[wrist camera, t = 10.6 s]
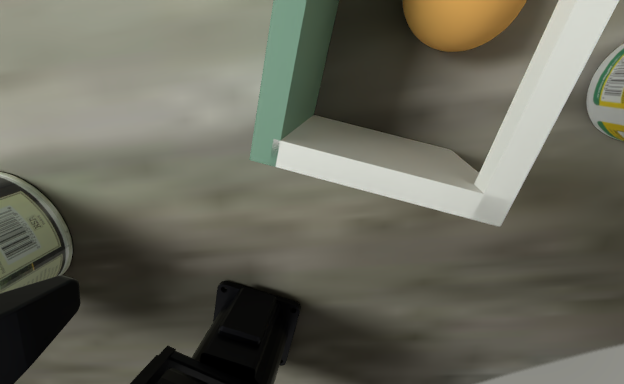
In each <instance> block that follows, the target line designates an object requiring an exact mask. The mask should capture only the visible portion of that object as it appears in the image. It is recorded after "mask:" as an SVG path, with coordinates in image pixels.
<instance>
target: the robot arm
mask: <svg viewBox="0 0 624 384" xmlns="http://www.w3.org/2000/svg"><path fill="white" fill-rule="evenodd" d="M224 287H225V288H226V289H225V288H224ZM79 307H80V292H79V283H78V281H77V280H76V279H74V278H71V277H67V276H64V275H59V276H55V277H52V278H49V279H46V280H42V281H39V282H36V283H32V284H29V285H26V286H23V287H19V288H16V289H13V290H10V291H6V292H3V293H0V384H14V383H15V382H16V381H17V380H18V379H19V378H20V377H21V376H22V374H23V373H24V372H25V371H26V370H27V369H28V368H29V367H30V366H31V365H32V364H33V363H34V362H35V360H36V359H37V358H38V357H39V356H40V355H41V353H42V352H43V351H44V350H45V349H46V348H47V346H48V345H49V344H50V343H51V342H52V341H53V339H54V338H55V337H56V336H57V335H58V334H59V332H60V331H61V330H62V329H63V328H64V327H65V325H66V324H67V323H68V322H69V321H70V320H71V318H72V317H73V316H74V315H75V314H76V312H77V311H78V309H79ZM292 308H295V309H292ZM300 309H301V306H300V304H299V303H298V302H295V301H292V300H289V299H285V298H282V297H278V296H275V295H272V294H268V293H265V292H261V291H258V290H255V289H251V288H248V287H244V286H241V285H238V284H234V283H231V282H227V281H222V282H221V283H220V285H219V286H218V290H217V297H216V305H215V312H214V320H213V324H212V325H211V327H210V329H209V330H208V332H207V334H206V335H205V337H204V338H203V340H202V342H201V343H200V345H199V347H198V348H197V350H196V352H195V353H194V355H193V356H192V358H191V357H188V356H186V355H184V354H182V353H179V352H177V351H175V350H176V349H174V348H172V347H170V346H167V347H166V348H165V349H164V350H163V351H162V352H161V353H160V354H159V355H156V356H155V357H154V358H153V360H152V361H151V362H150V363H149V364H148V365H147V366H146V367H145V368H144V369H143V370H142V371H141V372H140V374H139V375H138V376H137V377H136V378H135V379H134V380H133V381H132V382H131V383H130V384H274V382H275V378H276V375H277V371H278V368H279V365H281V366H282V365H285V363H286V360H287V357H288V353H289V349H290V346H291V342H292V338H293V334H294V331H295V327H296V323H297V320H298V316H299V312H300Z"/></svg>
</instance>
